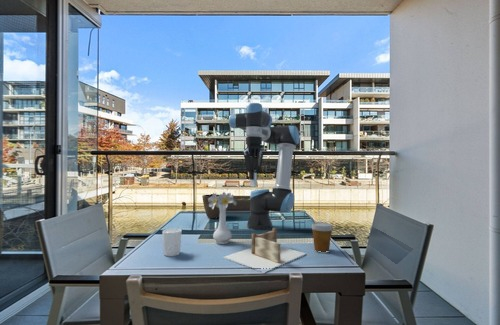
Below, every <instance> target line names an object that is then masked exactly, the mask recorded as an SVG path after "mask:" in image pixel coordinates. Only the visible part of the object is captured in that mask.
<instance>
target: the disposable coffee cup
mask: <svg viewBox="0 0 500 325" xmlns="http://www.w3.org/2000/svg"><path fill="white" fill-rule="evenodd" d="M310 227H311V229H312V237H313V248H314V251H315V250H316V251H321V252H326V251H329V252H330V247H331V239H332V232H333V229H334V227H333V224H331V223H329V222H321V221H318V222H313V223H312V225H311V226H310ZM316 251H315V252H316Z"/></svg>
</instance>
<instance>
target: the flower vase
mask: <svg viewBox="0 0 500 325" xmlns="http://www.w3.org/2000/svg"><path fill="white" fill-rule="evenodd" d="M212 194H213V195H212ZM212 194H211V195H212V196H211V197H210V198H208V200H209V201H208V202H210V203H209V205H208V206H209V207H211V208H212V210H213V209H214V207H215V205H216V207H218V208H219V210H220V214H219V219H218V220H219V221H218V222H219V223H218V226H217V228H216V230H214V232H213V234H212V237H213V239H214V240H215V243H216V244H218V245H226V244H228V243H229V242H230V240H231V239H232V237H233V234H232V232H231V230H230V229H229V228H228V226H227V221H226V220H227V218H226V217H227V213H226V211H227V208H228V206H229V204H233V205H234V206H235V207H236V206H237V201H236V200H235V199H234V194H232V193H231V192H227V193H226V192H225V191H223V192H222V193H220V194H218V195H219V196H216V194H217V192H213V193H212Z"/></svg>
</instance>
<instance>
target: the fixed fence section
mask: <svg viewBox="0 0 500 325" xmlns="http://www.w3.org/2000/svg"><path fill="white" fill-rule="evenodd" d="M277 235H278V228H277V227H273V228H272V230H270V231H267V232H263V233H261V234H259V233H258V234H257V233H255V232H253V233H251V248H252V254H255V237H260V238H263V239H266V240H270V241H273V242H276V243H278V242H277V240H278V236H277Z"/></svg>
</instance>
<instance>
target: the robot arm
mask: <svg viewBox="0 0 500 325" xmlns="http://www.w3.org/2000/svg"><path fill="white" fill-rule="evenodd" d="M245 110H246V111H245V112H243V113H241V112H240V113H238V112H237V113H233V114H230V115H229V117H228V125H229V127H230V128H232V129H240V130H243V131H245V136H246V137H245V145H246V149H245V150H242V155H243V157H244V164H245V170H246V172H248V173H249V180H250V183H249V186H250V187H253V188H257V187H258V186H257V185H258V184H257V182H258V181H257V180H258V174H259V173H260V172H261V169H262V163H263V158H264V155H265V151H263V150H262V148H261V147H262V145H263V142H264V143H266V144H269V145H276V147H277V148H278V159H277V166H276V167H277V168H276V176H275V185H274V187H272V191H270V189H269V188H264V189H255V190H252V191H251V192H250V197H249V199H250V200H249V208H250V209H249V212H250V213H249V217H248V221H247V224H246V228H248V229H251V230H257V231H258V230H259V231H261V230H269V229H273V228H272V226H273V224H272V223H273V222H272V221H271V216H270V212H277V213H290V212H291V211H292V209H293V208H294V205H295V204H294V203H295V194H294V193H293V190H292V188H291V176H292V175H291V174H292V164H293V153H294V150H295V149H296V147H297V145H299V144H300V140H301V138H300V132H299V129H298V127H297V126H296V125H279V126H271V125H272V123H273V117H272V116H271V114H270V113H268V112H266V111H263V105H262V104H261V103H257V102H249V103H248V104H246V109H245Z"/></svg>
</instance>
